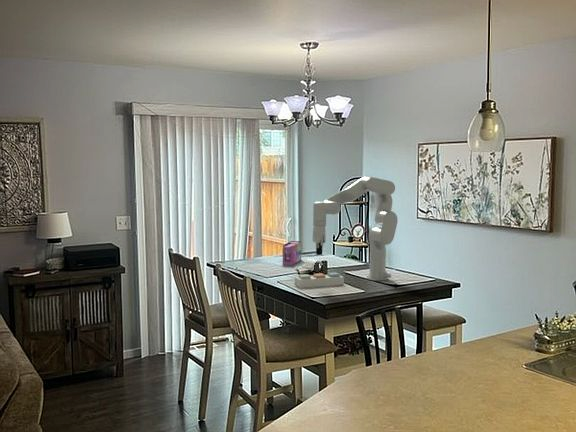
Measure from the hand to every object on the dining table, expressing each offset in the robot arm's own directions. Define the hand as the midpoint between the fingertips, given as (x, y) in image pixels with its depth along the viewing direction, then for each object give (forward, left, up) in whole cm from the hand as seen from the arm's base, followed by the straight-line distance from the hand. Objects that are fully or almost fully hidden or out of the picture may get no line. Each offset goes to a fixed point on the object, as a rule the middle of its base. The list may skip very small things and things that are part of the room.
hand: (319, 254), depth 327 cm
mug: (+24, -28, -18) cm, 41 cm away
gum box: (+54, -50, -18) cm, 76 cm away
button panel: (0, 0, -18) cm, 18 cm away
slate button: (-6, -7, -15) cm, 17 cm away
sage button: (+5, +7, -15) cm, 17 cm away
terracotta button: (0, 0, -15) cm, 15 cm away
